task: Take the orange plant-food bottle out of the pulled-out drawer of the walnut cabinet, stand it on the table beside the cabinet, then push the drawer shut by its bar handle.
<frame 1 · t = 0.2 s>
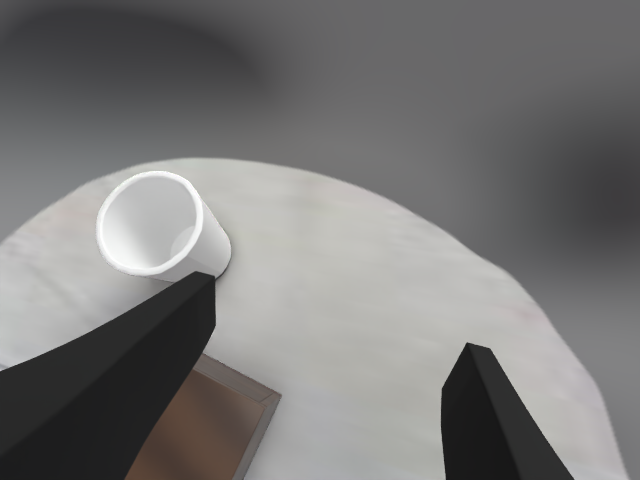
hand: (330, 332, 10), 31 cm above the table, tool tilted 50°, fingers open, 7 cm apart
cup: (203, 255, 45), on the table
cabinet: (195, 431, 39), on the table
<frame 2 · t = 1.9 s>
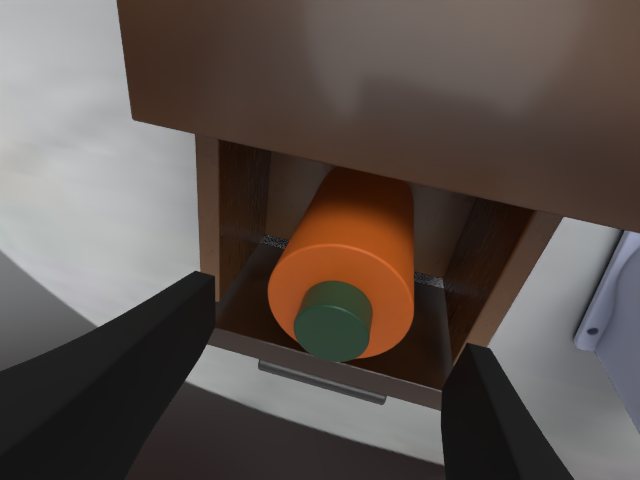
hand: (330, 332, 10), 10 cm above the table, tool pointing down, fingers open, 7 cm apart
drawer: (353, 247, 16), point 4 cm above the table, slide at 8.5 cm, touching bottle
bottle: (363, 206, 17), point 2 cm above the table, touching drawer
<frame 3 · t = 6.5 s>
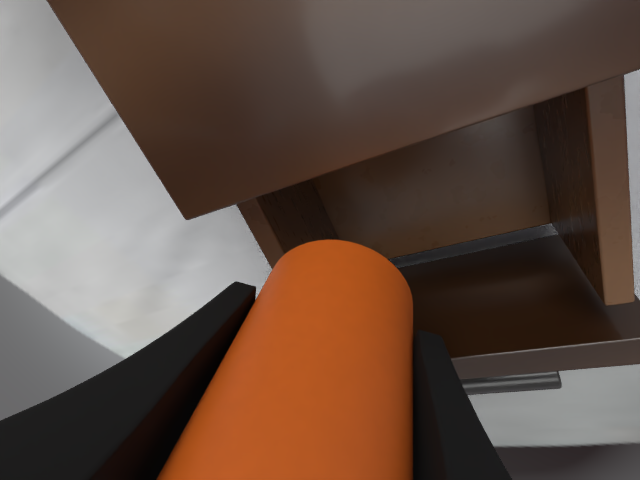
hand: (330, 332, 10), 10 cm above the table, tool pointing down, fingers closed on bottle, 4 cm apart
drawer: (431, 236, 15), point 4 cm above the table, slide at 8.5 cm
bottle: (338, 300, 12), point 9 cm above the table, touching gripper
when the fingers open (1 cm above the table, at t = 9.9 s): bottle stays where it is, on the table.
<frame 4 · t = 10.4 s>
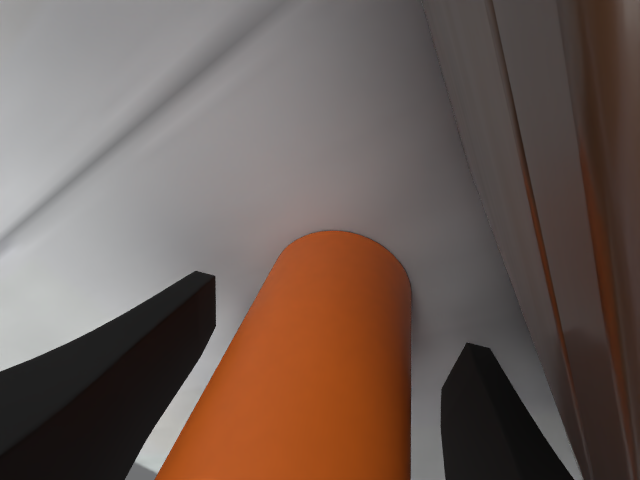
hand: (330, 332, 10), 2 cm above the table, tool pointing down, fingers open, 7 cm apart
bottle: (339, 290, 12), on the table
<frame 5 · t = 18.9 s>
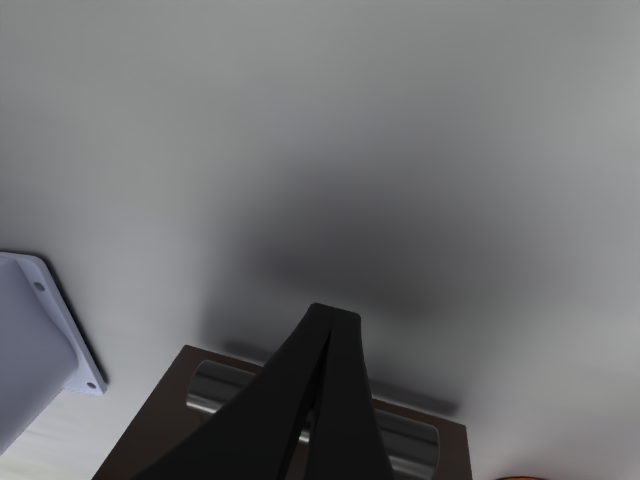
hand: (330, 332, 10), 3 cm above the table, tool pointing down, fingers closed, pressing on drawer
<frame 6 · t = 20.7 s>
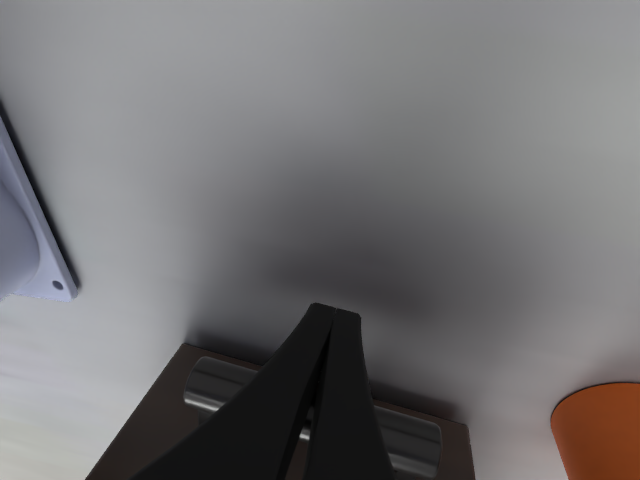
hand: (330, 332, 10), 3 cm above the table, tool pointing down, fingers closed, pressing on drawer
bottle: (617, 422, 14), on the table
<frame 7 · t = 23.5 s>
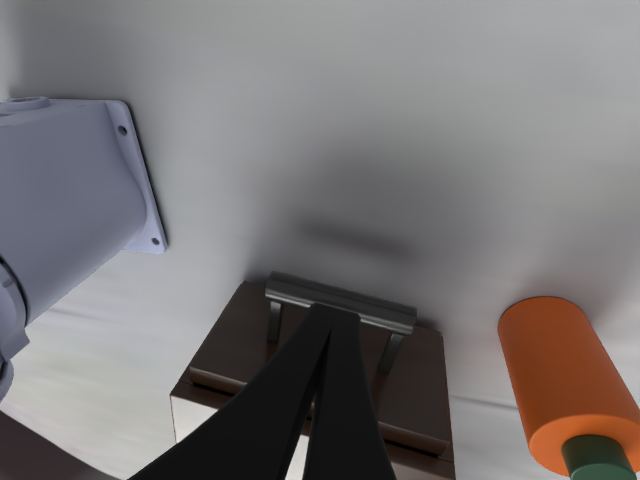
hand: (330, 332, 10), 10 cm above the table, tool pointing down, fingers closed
drawer: (316, 398, 22), point 4 cm above the table, slide at 0.0 cm, touching cabinet
bottle: (540, 327, 21), on the table
cabinet: (322, 379, 28), on the table
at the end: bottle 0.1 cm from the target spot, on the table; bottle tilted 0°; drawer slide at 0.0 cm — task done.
